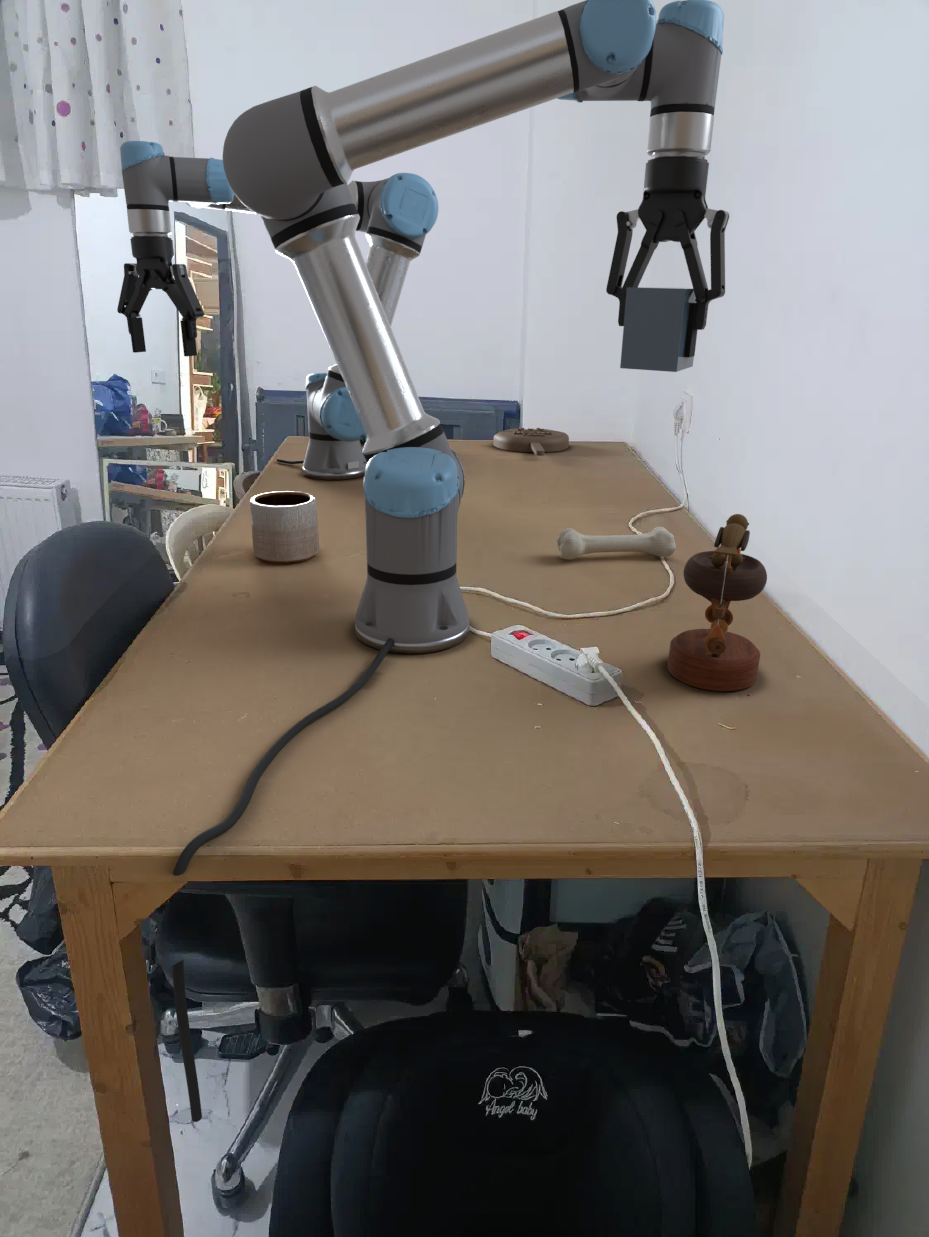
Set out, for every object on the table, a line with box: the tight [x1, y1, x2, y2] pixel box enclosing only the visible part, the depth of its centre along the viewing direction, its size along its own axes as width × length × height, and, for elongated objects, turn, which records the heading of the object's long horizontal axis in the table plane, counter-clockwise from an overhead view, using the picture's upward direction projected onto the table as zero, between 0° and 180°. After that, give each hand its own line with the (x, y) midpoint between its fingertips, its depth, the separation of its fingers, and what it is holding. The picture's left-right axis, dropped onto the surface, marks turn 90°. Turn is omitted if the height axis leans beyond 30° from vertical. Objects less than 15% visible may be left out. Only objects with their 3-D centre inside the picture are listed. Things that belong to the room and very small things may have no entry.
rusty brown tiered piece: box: [667, 513, 768, 692], centre depth 100 cm, size 15×11×20 cm
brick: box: [619, 286, 696, 373], centre depth 110 cm, size 7×8×10 cm
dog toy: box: [556, 526, 677, 560], centre depth 143 cm, size 20×6×5 cm, turn 99°
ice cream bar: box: [492, 427, 570, 457], centre depth 228 cm, size 21×28×4 cm
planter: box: [249, 490, 320, 564], centre depth 140 cm, size 11×11×10 cm
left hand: (164, 354), depth 167 cm, fingers open, 13 cm apart
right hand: (658, 354), depth 111 cm, fingers closed on brick, 7 cm apart
